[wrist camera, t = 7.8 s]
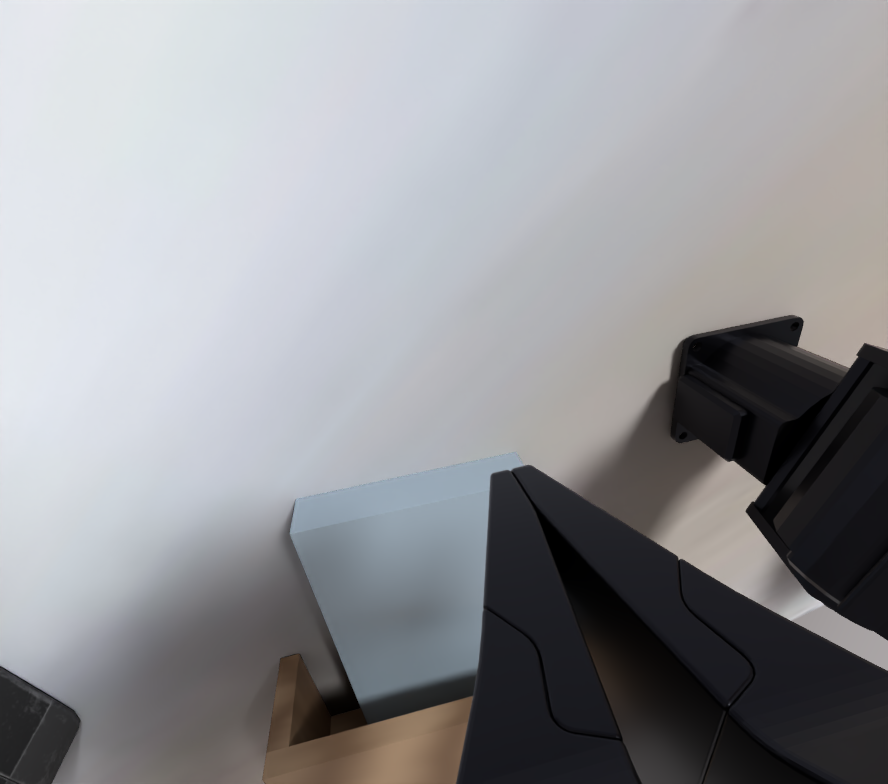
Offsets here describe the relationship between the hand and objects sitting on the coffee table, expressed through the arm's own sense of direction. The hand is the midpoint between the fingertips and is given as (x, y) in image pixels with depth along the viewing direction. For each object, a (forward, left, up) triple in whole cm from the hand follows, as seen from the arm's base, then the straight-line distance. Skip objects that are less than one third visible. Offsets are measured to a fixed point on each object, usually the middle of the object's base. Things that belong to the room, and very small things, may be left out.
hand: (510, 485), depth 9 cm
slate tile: (+2, +18, -12) cm, 22 cm away
